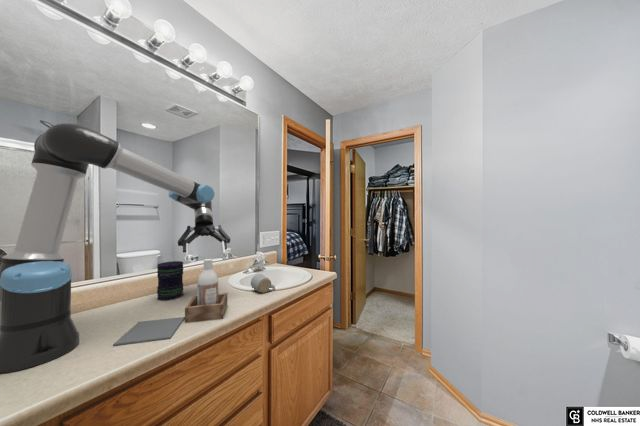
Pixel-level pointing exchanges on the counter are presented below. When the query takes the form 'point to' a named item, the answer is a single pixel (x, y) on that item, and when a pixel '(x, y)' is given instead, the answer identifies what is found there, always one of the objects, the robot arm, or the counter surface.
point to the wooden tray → (205, 310)
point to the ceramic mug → (261, 283)
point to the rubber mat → (150, 331)
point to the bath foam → (207, 285)
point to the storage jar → (170, 280)
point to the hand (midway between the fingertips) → (206, 256)
